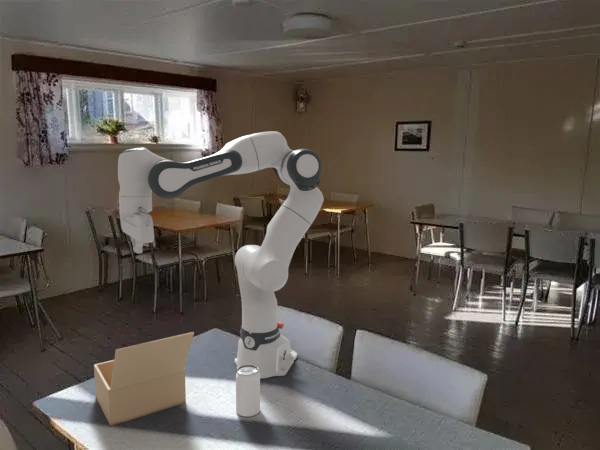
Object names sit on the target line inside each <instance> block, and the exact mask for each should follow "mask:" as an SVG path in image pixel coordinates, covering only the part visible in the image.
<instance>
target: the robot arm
mask: <svg viewBox="0 0 600 450" xmlns="http://www.w3.org/2000/svg"><path fill="white" fill-rule="evenodd" d="M269 168H271V169H272V170H273V172H274V174H275V175H276V177H277V178H278V181H280V182H281V183H282V184H283V185H286V186H288V187H289V188H290V189H289V193H288V195H287V198H286V199H285V200H284V201H283V203H282V204H281V205H280V207H279V209H277V211H276V213H275V214H274V216H273V217H272V218H271V220H270V221H269V223H268V224H267V227H266V232H265V233H266V234H265V236H264V239H263V241H262V244H261V246H260V245H258V244H246V245H243V246H241V247H240V248H239V249H238V250H237V252H236V253H235V256H234V264H235V268H236V272H237V280H238V288H239V293H240V298H241V299H240V300H241V326H240V331H239V333H240V339H238V342H237V343H238V344H237V357H235V358H234V360H233V361H234V362H233V363H234V364H235V365H236V370H238V368H239V367H241V366H243V365H254V366H256V367H258V369H259V373H260V379H268V378H272V377H283V376H286V375H287V373H288V371H289V370H290V369H291V367H292V365H293V364H294V362H295V361H296V359H297V357H298V352H296V351H295V350H293V349H292V348H291V341H290V340H289V339H288V338H287V337H285V336H284V335H283V334H281V331H280V330H283V329H284V327H285V323H284V322H280V321H278V299H277V298H276V294H275V292H277V291H280V290H281V289H282V288H283V287H284V286H285V285H286V284H287V281H288V279H289V266H290V265H291V261H292V258H293V255H294V253H295V250H296V248H297V247H298V245H299V243H300V242H301V241H302V239H303V237H304V235H306V233H307V232H308V230H309V228H311V225H312V224H313V223H314V221H315V219H316V218H317V216H318V214H319V212H320V210H321V208H322V206H323V203H324V195H323V192H322V191H321V190H320V188H319V187H318V186H319V185H320V182H321V181H320V179H321V174H322V171H323V169H322V168H323V164H322V160H321V158H320V156H319V155H318V154H317V153H316V152H315V151H313V150H311V149H308V148H299V149H295V150H293V149H291V148H290V147H289V146H288V142H287V139H286V137H285V136H284V135H283V134H282V133H281V132H279V131H277V130H275V131H273V130H272V131H271V130H270V131H261V132H255V133H251V134H247V135H243V136H240V137H237V138H235V139H233V140H231V141H228V142H226V143H225V145H224V146H223V147H222V148H221V149H220V150H219V151H217V152H215V153H213V154H211V155H208V156H204V157H200V158H196V159H193V160H190V161H187V162H186V161H185V162H178V161H174V160H171V159H168V158H165V157H162V156H160V155H158V154H156V153H154V152H152V151H151V150H149V149H148V148H146V147H134V148H130V149H126V150H123V151H122V152H121V153H120V154H119V156H118V161H117V179H118V183H119V192H118V201H117V203H116V207H117V209H118V212H119V220H120V227H121V230H122V232H123V233H124V234H126V235H128V236H129V237H130V238H131V239H130V240H131V243H132V246H133V247H132V249H133V252H134V253H136V254H143V246H144V244H148V243H153V242H154V240H155V229H154V220H153V217H152V215H150V214H149V213H151V212H153V198H152V197H153V194H152V193H154V194H155V195H156V196H157V197H159V198H162V199H168V200H169V199H175V198H177V197H179V196H180V195H182V194H183V193H184V192H186V191H187V190H188V189H189V188H191V187H192V186H194V185H197V184H200V183H203V182H207V181H209V180H212V179H213V180H214V179H217V178H220V177H223V176H224V177H225V176H233V175H235V176H236V175H244V174H250V173H254V172H258V171H262V170H266V169H269ZM294 360H295V361H294Z"/></svg>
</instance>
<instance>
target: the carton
mask: <svg viewBox="0 0 600 450" xmlns="http://www.w3.org/2000/svg"><path fill="white" fill-rule="evenodd" d="M113 366H114V359H112V360H108V361H103V362H99V363H95V364H93V371H94V372H93V374H94V375H93V376H94V389H95V390H94V391H95V399H96V401H97V403H98V405H99V407H100V409H101V411H102V413H103V414H104V417H105V419H106V420H107V423H108V425H109V427H114V426H115V425H116V426H117V425H119V424H123V423H126V422H129V421H133V420H135V419H139V418H141V417H142V418H143V417H145V416H148V415H151V414H154V413H158V412H161V411H164V410H167V409H170V408H174V407H176V406H180V405H183V404H186V403H187V397H186V395H187V394H186V393H187V392H186V369H185V368H184V371H181V372H178V373H174V374H170V375H167V376H163V377H159V378H156V379H152V380H149V381H145V382H141V383H138V384H134V385H130V386H127V387H123V388H119V389H116V390H112V391H111V390H110V388H111V380H112V373H113Z"/></svg>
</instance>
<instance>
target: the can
mask: <svg viewBox="0 0 600 450" xmlns="http://www.w3.org/2000/svg"><path fill="white" fill-rule="evenodd" d="M236 370H237V369H236ZM260 410H261V378H260V373H259V369H258V367H256V366H254V365H243V366H241V367H239V368H238V370H237V372H236V374H235V411H236V413H237V414H238V415H239V417H242V418H252V417H256V415H258V414H259V412H260Z"/></svg>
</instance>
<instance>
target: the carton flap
mask: <svg viewBox="0 0 600 450" xmlns="http://www.w3.org/2000/svg"><path fill="white" fill-rule="evenodd" d="M194 335H195V332H194V331H191V332H187V333H181V334H178V335H177V334H176V335H173V336H172V335H171V336H168V337H164V338H159V339H156V340H150V341H147V342H141V343H138V344H132V345H130V346H125V347H122V348H120V347H119V348H116V349H115V352H114V353H115V354H114V359H113V360H114V366H113V373H112V380H111V388H110V390H111V391H112V390H116V389H119V388H123V387H127V386H130V385H134V384H138V383H141V382H145V381H149V380H152V379H156V378H159V377H163V376H167V375H170V374H174V373H178V372H181V371H184V369H185V367H186V365H187V361H188V357H189V353H190V349H191V345H192V342H193V338H194Z"/></svg>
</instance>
